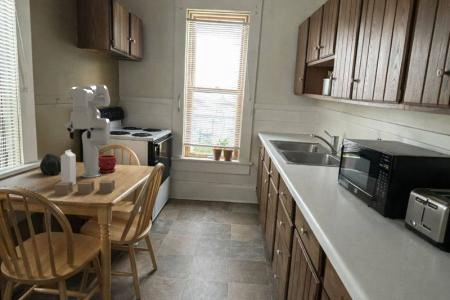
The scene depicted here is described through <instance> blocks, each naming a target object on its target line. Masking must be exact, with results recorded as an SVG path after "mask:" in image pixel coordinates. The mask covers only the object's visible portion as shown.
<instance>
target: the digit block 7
mask: <svg viewBox="0 0 450 300" xmlns="http://www.w3.org/2000/svg"><path fill="white" fill-rule="evenodd" d="M98 183H99V184H98V185H99V188H98V190H99V193H113V192H114V191H113V190H115V189H116V188H115V187H116V186H115V185H116V182H115V179H102V180H100V182H98Z"/></svg>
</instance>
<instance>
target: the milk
mask: <svg viewBox="0 0 450 300" xmlns="http://www.w3.org/2000/svg"><path fill="white" fill-rule="evenodd" d="M60 159H61V172H60V178H61V182H73V186H74V185H76V184H77V171H76V168H77V167H76V165H77V163H76V154H75V153H74V152H72V149H67V150H65V151H64V153H63V154H61V155H60Z"/></svg>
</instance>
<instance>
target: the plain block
mask: <svg viewBox="0 0 450 300" xmlns="http://www.w3.org/2000/svg"><path fill="white" fill-rule="evenodd" d="M94 191H95V180H83V179H82V180H80V182H78V183H77V194H79V195H81V194H82V195H86V194H88V195H91V194H92V193H93V192H94Z"/></svg>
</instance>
